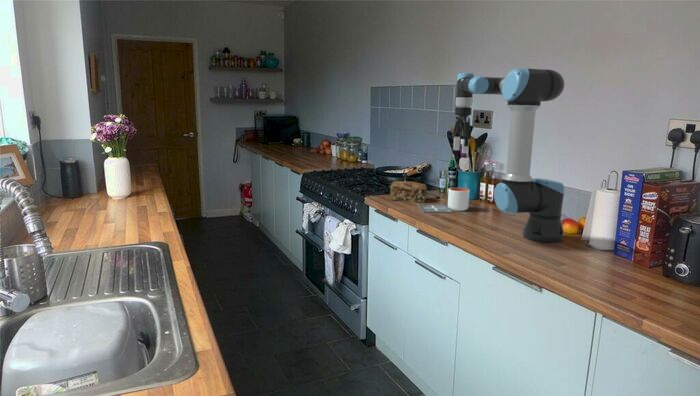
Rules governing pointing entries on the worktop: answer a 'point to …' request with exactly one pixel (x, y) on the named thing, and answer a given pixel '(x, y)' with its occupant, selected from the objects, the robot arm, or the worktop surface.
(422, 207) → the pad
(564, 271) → the worktop surface
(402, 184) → the bread
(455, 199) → the cup
